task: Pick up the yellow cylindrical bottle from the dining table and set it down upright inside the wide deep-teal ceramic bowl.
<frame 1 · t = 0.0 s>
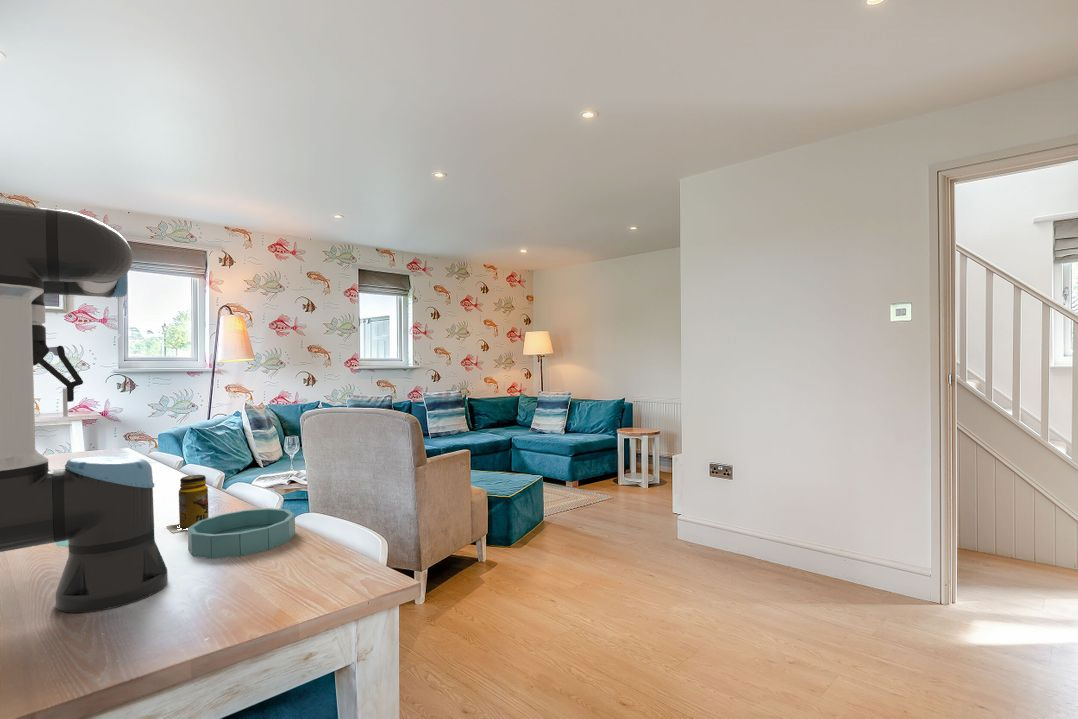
hand: (25, 419, 123), 28 cm above the table, fingers open, 13 cm apart
yellow cylindrical bottle: (190, 527, 133), on the table
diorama: (83, 538, 128), on the table
bowl: (243, 541, 120), on the table
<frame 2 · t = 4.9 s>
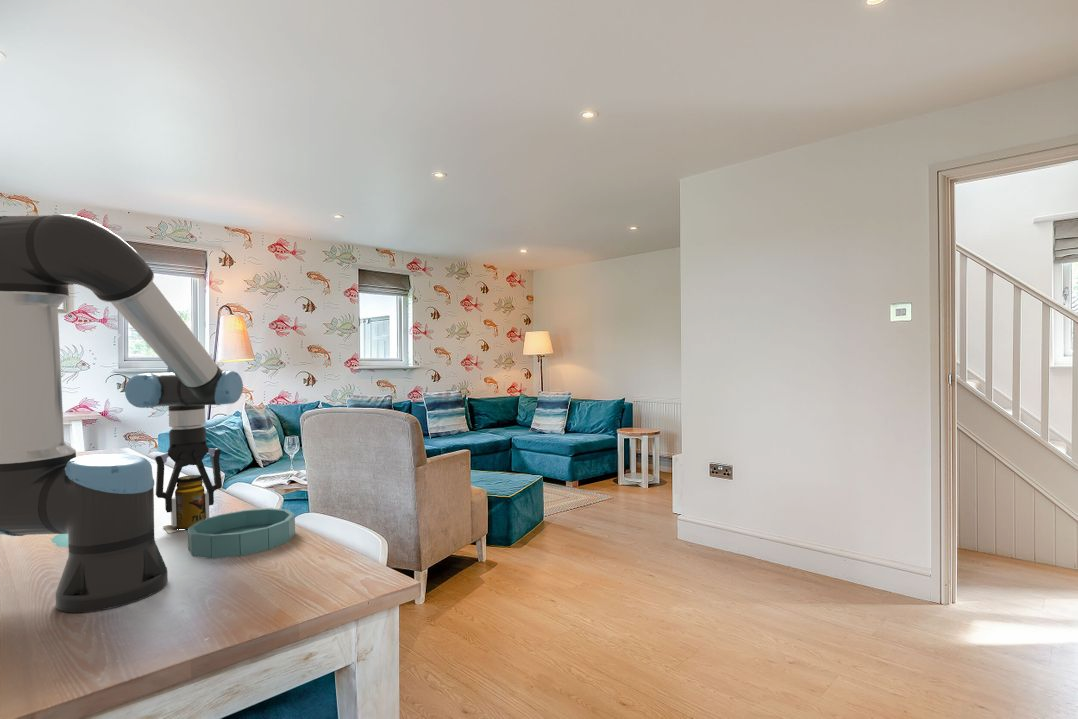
hand: (190, 521, 133), 1 cm above the table, fingers closed on yellow cylindrical bottle, 6 cm apart
yellow cylindrical bottle: (186, 527, 133), on the table, touching gripper
everything else where it was.
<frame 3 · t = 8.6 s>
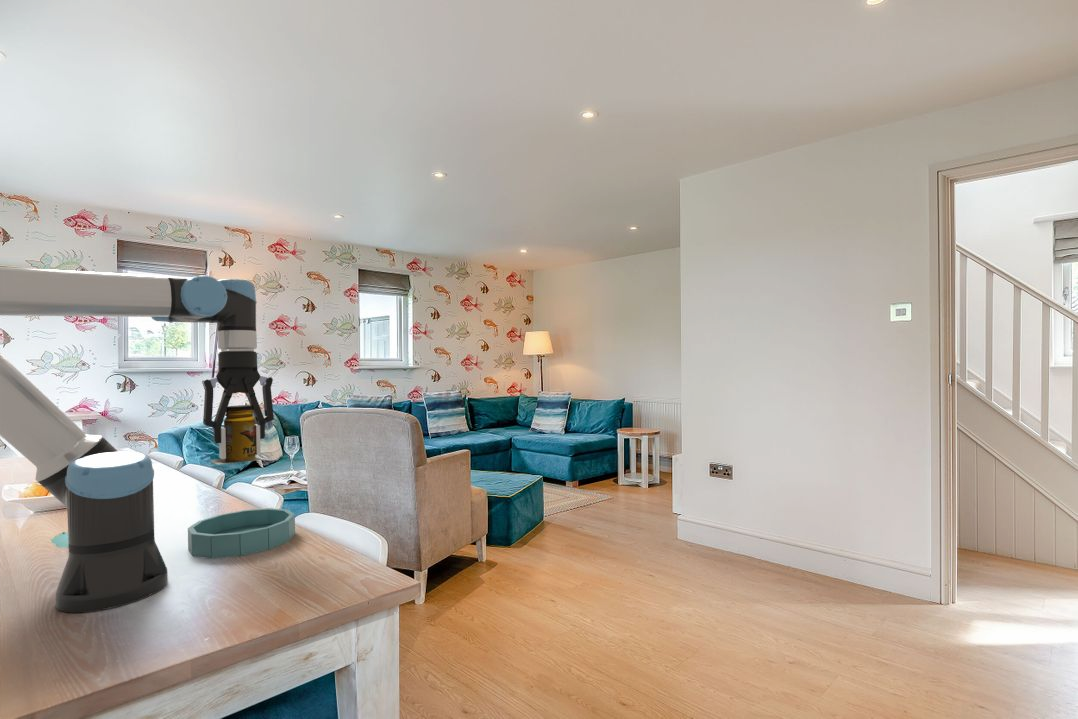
hand: (240, 455, 120), 19 cm above the table, fingers closed on yellow cylindrical bottle, 6 cm apart
yellow cylindrical bottle: (235, 461, 120), point 18 cm above the table, touching gripper
everything else where it was.
when the fingers open (3 cm above the table, at t = 12.3 s): yellow cylindrical bottle drops 1 cm, resting on bowl.
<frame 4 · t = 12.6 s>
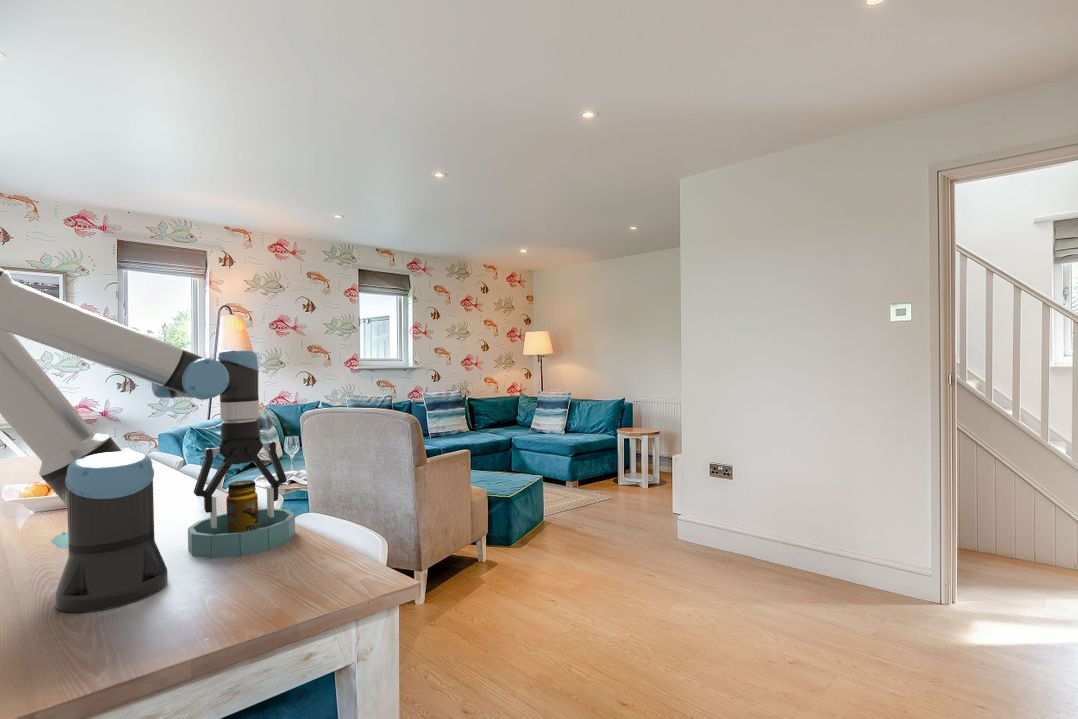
hand: (243, 521, 120), 4 cm above the table, fingers open, 10 cm apart
yellow cylindrical bottle: (238, 538, 120), point 1 cm above the table, touching bowl
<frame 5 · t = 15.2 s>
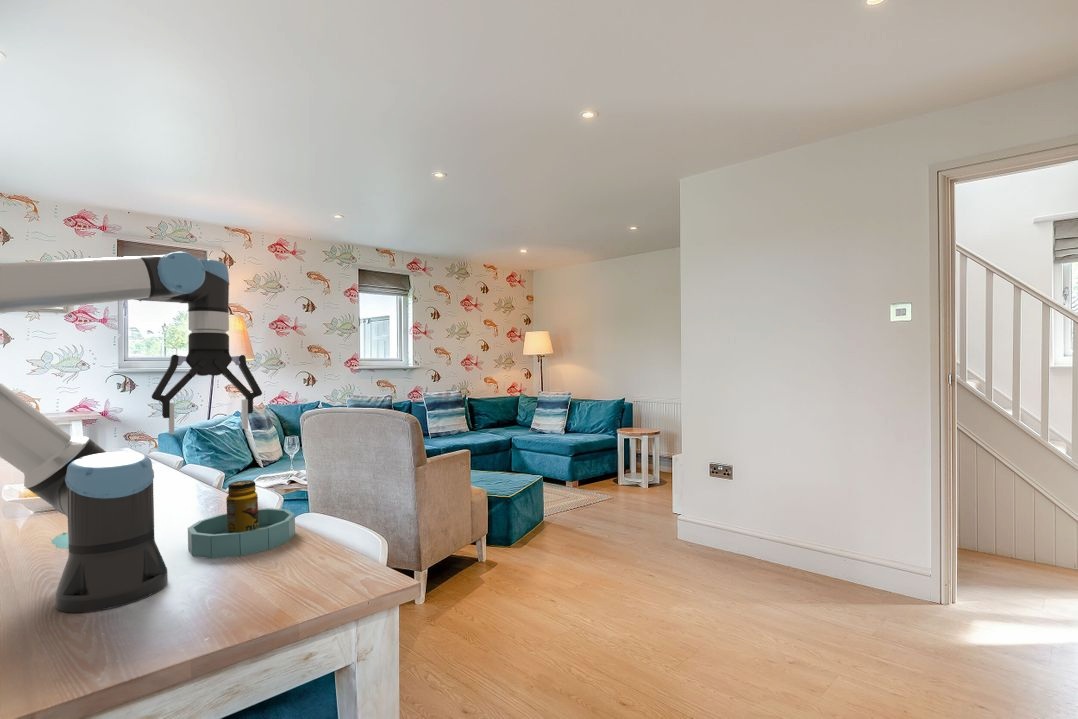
hand: (209, 431, 118), 25 cm above the table, fingers open, 13 cm apart
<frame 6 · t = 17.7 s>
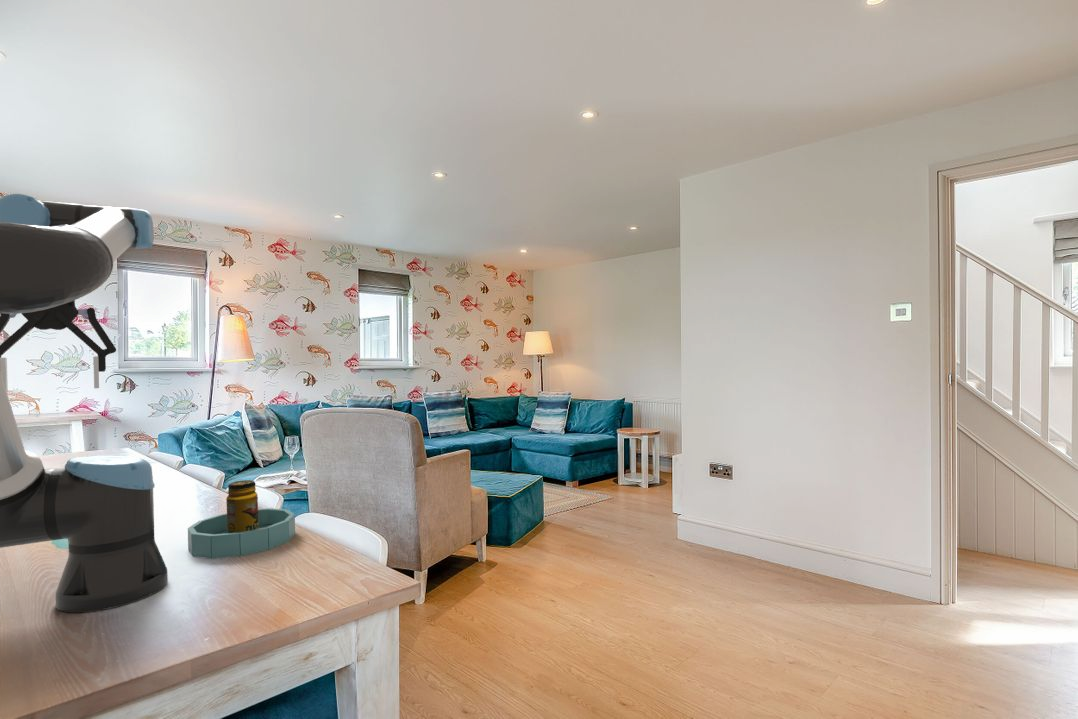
hand: (52, 390, 108), 35 cm above the table, fingers open, 13 cm apart
at the end: yellow cylindrical bottle inside the target area on the bowl (1.0 cm from its centre), point 0.8 cm above the bowl's base; yellow cylindrical bottle tilted 0°; the gripper is holding nothing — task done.
